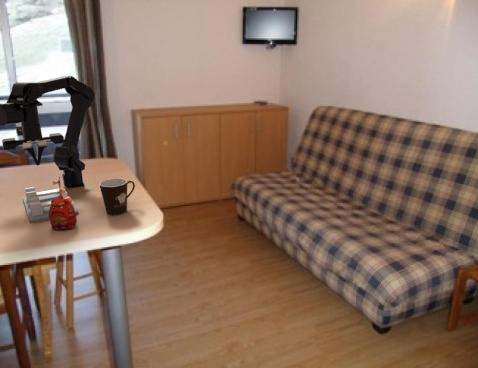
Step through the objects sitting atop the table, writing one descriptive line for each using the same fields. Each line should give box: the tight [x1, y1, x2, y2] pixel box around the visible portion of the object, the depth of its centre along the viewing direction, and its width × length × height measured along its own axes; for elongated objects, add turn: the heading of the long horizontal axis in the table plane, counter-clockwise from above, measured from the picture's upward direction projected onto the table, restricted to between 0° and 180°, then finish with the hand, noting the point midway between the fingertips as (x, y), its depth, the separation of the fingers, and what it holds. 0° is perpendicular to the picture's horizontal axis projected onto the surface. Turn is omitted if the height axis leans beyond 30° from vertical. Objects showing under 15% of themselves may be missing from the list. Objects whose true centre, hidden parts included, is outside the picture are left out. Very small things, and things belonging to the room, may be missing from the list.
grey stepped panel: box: [22, 186, 79, 224], centre depth 136 cm, size 14×24×5 cm, turn 32°
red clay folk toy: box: [48, 176, 78, 231], centre depth 119 cm, size 8×7×15 cm
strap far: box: [36, 186, 67, 197], centre depth 141 cm, size 11×4×1 cm, turn 122°
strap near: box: [41, 195, 73, 208], centre depth 131 cm, size 11×4×1 cm, turn 122°
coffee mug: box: [99, 177, 136, 216], centre depth 131 cm, size 12×9×10 cm
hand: (38, 165), depth 141 cm, fingers closed
